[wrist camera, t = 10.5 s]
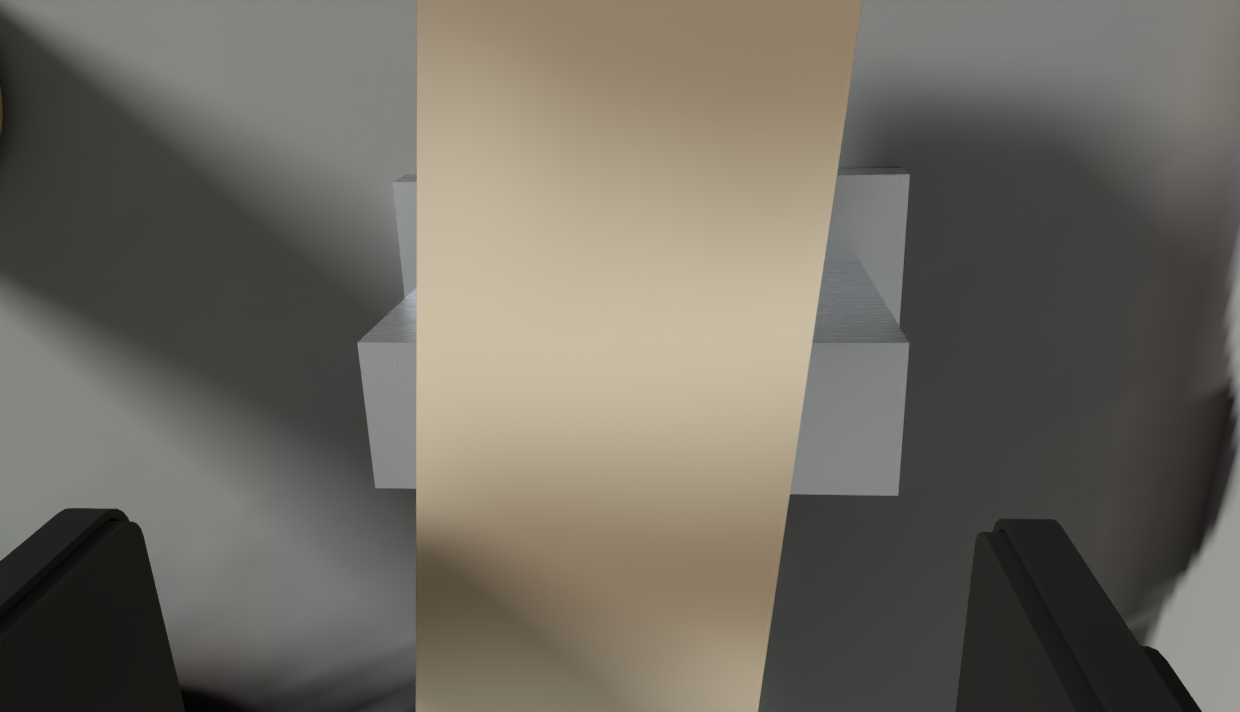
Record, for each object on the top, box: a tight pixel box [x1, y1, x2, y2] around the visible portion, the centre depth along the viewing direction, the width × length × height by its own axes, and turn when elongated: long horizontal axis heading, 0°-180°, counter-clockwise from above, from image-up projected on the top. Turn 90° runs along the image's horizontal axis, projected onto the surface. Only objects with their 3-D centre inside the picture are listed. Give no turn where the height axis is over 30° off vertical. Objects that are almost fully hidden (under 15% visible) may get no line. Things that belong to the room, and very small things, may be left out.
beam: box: [416, 0, 863, 712], centre depth 16 cm, size 18×5×5 cm, turn 176°
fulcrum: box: [357, 168, 910, 496], centre depth 21 cm, size 7×12×7 cm, turn 92°
